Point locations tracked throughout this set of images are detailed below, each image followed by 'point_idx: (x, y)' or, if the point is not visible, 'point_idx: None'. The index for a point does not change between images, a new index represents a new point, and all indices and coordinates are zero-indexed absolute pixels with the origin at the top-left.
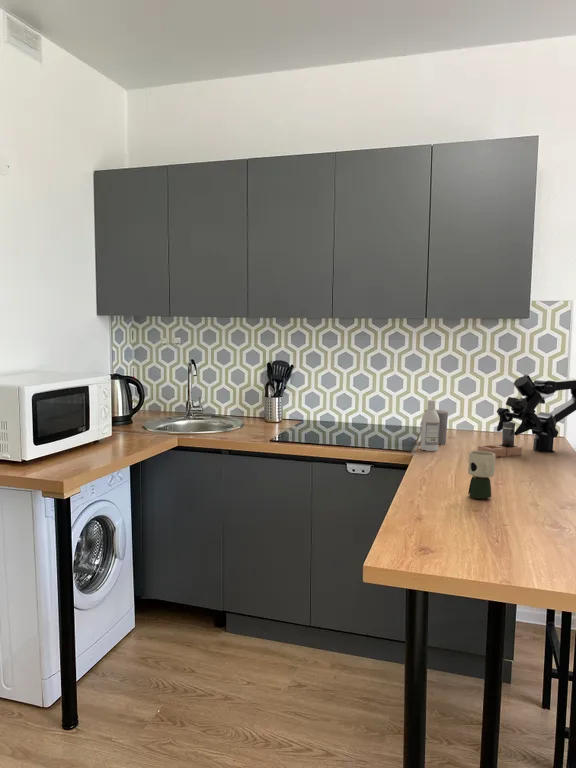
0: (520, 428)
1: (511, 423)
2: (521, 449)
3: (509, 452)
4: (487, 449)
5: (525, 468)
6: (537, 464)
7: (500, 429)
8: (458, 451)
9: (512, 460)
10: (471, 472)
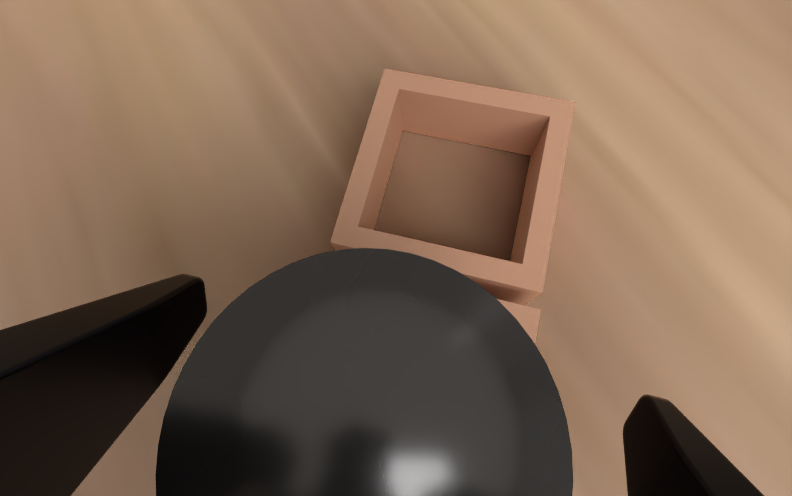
0: (12, 340)
1: (234, 367)
2: None
3: None
4: (439, 85)
5: (64, 21)
6: (37, 197)
7: (636, 487)
8: (687, 71)
9: (226, 156)
10: None
